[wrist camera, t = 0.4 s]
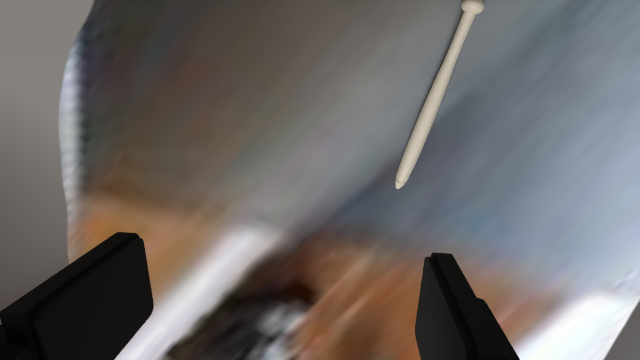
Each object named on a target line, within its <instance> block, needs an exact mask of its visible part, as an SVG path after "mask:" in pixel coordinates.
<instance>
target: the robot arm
mask: <svg viewBox="0 0 640 360" xmlns="http://www.w3.org/2000/svg"><path fill="white" fill-rule="evenodd" d="M153 306H154V305H153V297H152V291H151V285H150V279H149V272H148V266H147V260H146V253H145V247H144V242H143V239H142V238H139V236H138V234H136V233H124V232H117V233H115V234H114V235H112V236H111V237H109V238H108V239H106V240H105V241H103V242H102V243H101V244H99V245H98V246H96V247H95V248H93V249H92V250H90V251H89V252H87V253H86V254H84V255H83V256H81V257H80V258H78V259H77V260H75V261H74V262H73V263H71V264H70V265H68V266H67V267H65V268H64V269H62V270H61V271H59V272H58V273H56V274H55V275H53V276H52V277H50V278H49V279H48V280H46V281H45V282H43V283H42V284H40V285H39V286H37V287H36V288H34V289H33V290H31V291H30V292H28V293H27V294H26V295H24V296H22V297H21V298H20V299H18V300H17V301H15V302H14V303H12V304H11V305H9V306H8V307H6V308H5V309H3V310H2V311H0V319H1V322H2V324H1V325H0V360H114V359H115V358H116V357H117V355H118V354H119V353H120V352H121V351H122V349H123V348H124V347H125V346H126V345H127V343H128V342H129V341H130V340H131V339H132V337H133V336H134V335H135V334H136V332H137V331H138V330H139V329H140V328H141V326H142V325H143V324H144V323H145V322H146V320H147V319H148V318H149V317H150V315H151V314H152V311H153ZM415 336H416V341H417V345H418V349H419V353H420V357H421V360H520V359H519V357H518V356H517V354H516V352H515V351H514V349H513V347H512V346H511V344H510V342H509V341H508V339H507V337H506V335H505V334H504V332H503V330H502V329H501V327H500V325H499V324H498V322H497V320H496V319H495V317H494V315H493V314H492V312H491V310H490V309H489V307H488V305H487V304H486V302H485V301H484V300H483V299H481V298H477V297H476V296H475V294H474V292H473V290H472V289H471V287H470V285H469V283H468V282H467V280H466V278H465V276H464V274H463V273H462V271H461V269H460V267H459V266H458V264H457V262H456V260H455V259H454V257H453V255H452V254H447V253H432V254H431V257H425V261H424V267H423V274H422V281H421V289H420V296H419V303H418V310H417V317H416V324H415Z"/></svg>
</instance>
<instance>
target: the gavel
mask: <svg viewBox="0 0 640 360" xmlns="http://www.w3.org/2000/svg"><path fill="white" fill-rule="evenodd" d="M461 8H462V10H463V11H464V12H463V15H462V18H461V20H460V23H459V25H458V28H457V30H456V33H455V36H454V38H453V40H452V43H451V45H450V48H449V50H448V52H447V55H446V57H445V60H444V62H443V64H442V66H441V68H440V70H439V72H438V74H437V76H436V79H435V81H434V83H433V85H432V87H431V90H430V92H429V94H428V96H427V99H426V101H425V103H424V105H423V108H422V110H421V112H420V115H419V117H418V119H417V122H416V124H415V127H414V129H413V132H412V134H411V137H410V139H409V141H408V144H407V146H406V149H405V152H404V154H403V157H402V159H401V163H400V165H399V168H398V171H397V174H396V180H395V183H396V188H397V189H400V188H401V187H402V186H403V185H404V184H405V182H406V181H407V180H408V178H409V176H410V174H411V172H412V170H413V168H414V166H415V164H416V162H417V159H418V157H419V155H420V153H421V150H422V148H423V146H424V143H425V141H426V138H427V136H428V134H429V131H430V129H431V126H432V124H433V121H434V119H435V116H436V114H437V111H438V109H439V106H440V104H441V101H442V98H443V96H444V93H445V91H446V88H447V85H448V83H449V80H450V77H451V74H452V72H453V68H454V65H455V63H456V60H457V58H458V55H459V53H460V51H461V48H462V46H463V43H464V41H465V38H466V36H467V34H468V32H469V29H470V27H471V25H472V22H473V20H474V18H475V16H476V14H479V13H481V12H482V11H483V9H484V4H483V3H482V0H464V1H463V3H462V5H461Z"/></svg>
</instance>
